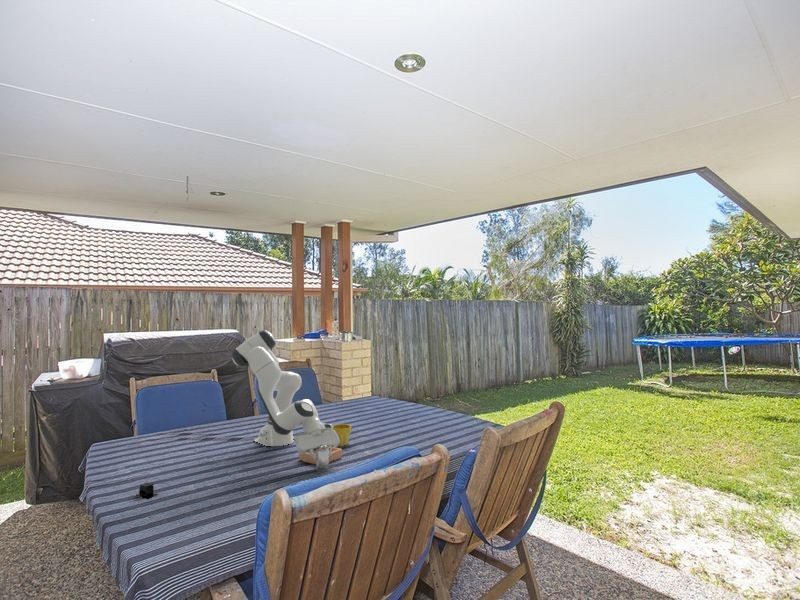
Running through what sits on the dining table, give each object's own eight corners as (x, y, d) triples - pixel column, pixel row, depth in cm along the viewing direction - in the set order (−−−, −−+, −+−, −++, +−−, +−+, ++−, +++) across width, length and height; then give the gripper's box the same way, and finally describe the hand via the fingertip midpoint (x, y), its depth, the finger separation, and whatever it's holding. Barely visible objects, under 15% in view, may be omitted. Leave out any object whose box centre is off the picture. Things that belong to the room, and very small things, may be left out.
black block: (165, 495, 171) (165, 483, 171) (148, 502, 164) (148, 490, 164) (143, 490, 176) (144, 478, 176) (126, 497, 169) (126, 485, 169)
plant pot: (333, 448, 231) (333, 429, 231) (330, 442, 241) (330, 424, 241) (352, 446, 234) (352, 427, 234) (349, 441, 243) (349, 423, 244)
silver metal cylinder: (313, 469, 198) (313, 445, 198) (322, 466, 203) (322, 442, 203) (322, 472, 195) (322, 447, 195) (331, 468, 200) (331, 444, 200)
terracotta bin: (298, 459, 212) (299, 451, 212) (320, 452, 224) (320, 444, 224) (321, 465, 204) (321, 456, 204) (342, 457, 216) (342, 449, 216)
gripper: (294, 430, 199) (303, 458, 191) (335, 424, 211) (345, 449, 203) (291, 438, 202) (299, 465, 194) (330, 431, 214) (340, 457, 206)
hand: (323, 457), depth 199 cm, fingers closed on silver metal cylinder, 6 cm apart
